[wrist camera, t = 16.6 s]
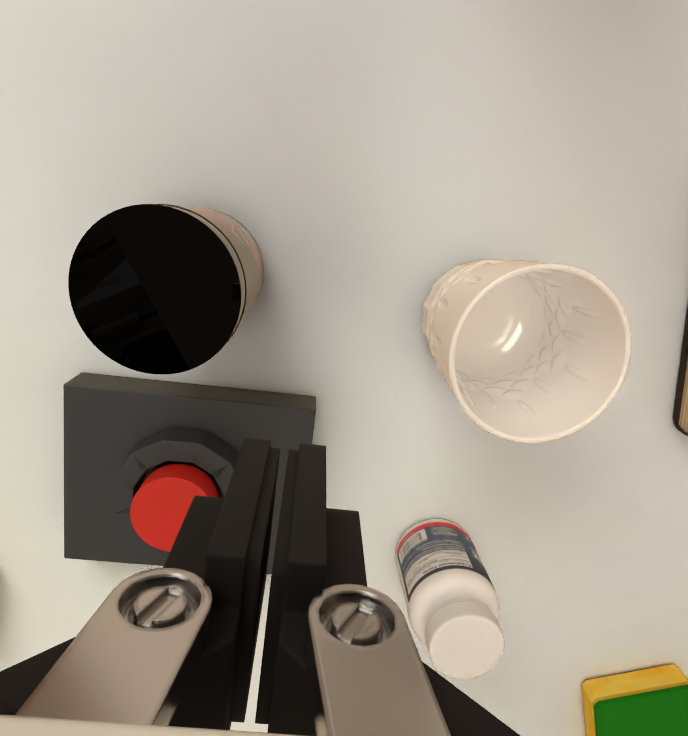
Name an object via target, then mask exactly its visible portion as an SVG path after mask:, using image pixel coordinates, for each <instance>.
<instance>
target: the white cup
mask: <svg viewBox="0 0 688 736" xmlns="http://www.w3.org/2000/svg"><path fill="white" fill-rule="evenodd" d="M422 331H423V333H424V336H425V338H426V340H427V342H428V345H429V347H430V351H431V354H432V356H433V358H434V360H435V362H436V364H437V366H438V368H439V370H440V371H441V373H442V375H443V377H444V378H445V380H446V381H447V383H448V385H449V386H450V388H451V390H452V391H453V393H454V395H455V396H456V398H457V400H458V402H459V403H460V405H461V407H462V408H463V410H464V411H465V412H466V414H467V415H468V416H469V417H470V418H471V419H472V420H473V421H474V422H475V423H476V424H477V425H479V426H480V427H481V428H483V429H484V430H486V431H487V432H489V433H491V434H493V435H495V436H497V437H500V438H503V439H506V440H510V441H514V442H521V443H541V442H548V441H552V440H556V439H560V438H563V437H565V436H568V435H570V434H573V433H575V432H577V431H578V430H580V429H582V428H583V427H585V426H587V425H588V424H589V423H591V422H592V421H593V420H595V419H596V418H597V417H598V416H599V415H600V414H601V413H602V412H603V411H604V410H605V409H606V408H607V407H608V406H609V404H610V403H611V402H612V400H613V399H614V397H615V396H616V394H617V393H618V391H619V389H620V387H621V385H622V383H623V381H624V379H625V376H626V373H627V370H628V367H629V362H630V356H631V332H630V327H629V322H628V319H627V316H626V313H625V311H624V309H623V307H622V305H621V303H620V301H619V300H618V298H617V297H616V296H615V294H614V293H613V292H612V291H611V290H610V289H609V288H608V287H607V286H606V285H605V284H604V283H603V282H602V281H601V280H599V279H598V278H596V277H595V276H593V275H591V274H590V273H588V272H586V271H583V270H581V269H578V268H575V267H571V266H567V265H561V264H550V263H540V262H531V261H521V260H483V259H482V260H477V261H473V262H469V263H464V264H460V265H456V266H455V267H454V268H452V269H451V270H450V271H448V272H447V273H446V274H444V275H443V276H442V277H441V278H439V279H438V280H437V281H436V282H435V283H434V285H433V287H432V289H431V291H430V293H429V295H428V297H427V299H426V300H425V302H424V304H423V321H422Z"/></svg>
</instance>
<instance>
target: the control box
mask: <svg viewBox="0 0 688 736" xmlns="http://www.w3.org/2000/svg"><path fill="white" fill-rule="evenodd" d="M315 412H316V397H313V396H304V395H294V394H284V393H275V392H265V391H255V390H245V389H236V388H226V387H216V386H207V385H197V384H187V383H178V382H168V381H158V380H148V379H139V378H129V377H119V376H110V375H100V374H90V373H80V374H79V375H77V376H76V377H74V378H73V379H71V380H70V381H68V382H67V383H65V384H64V557H65V558H71V559H83V560H96V561H109V562H121V563H134V564H147V565H160V566H164V565H165V562H166V560H167V558H168V555H169V553H170V552H169V551H163V550H160V549H157V548H155V547H153V546H151V545H149V544H148V543H146V542H145V541H144V540H142V539H141V537H140V536H139V535H138V534H137V532H136V531H135V529H134V527H133V525H132V522H131V517H130V508H131V503H132V500H133V498H134V496H135V494H136V493H137V491H138V490H139V488H140V487H141V485H142V484H143V482H144V481H145V479H146V478H147V477H148V475H150V474H151V473H152V472H153V471H155V470H156V469H158V468H160V467H162V466H165V465H169V464H187V465H190V466H194V467H196V468H198V469H200V470H202V471H203V472H204V473H206V474H207V475H208V476H209V477H210V478H211V479H212V480H213V482H214V483H215V485H216V487H217V489H218V493H219V498H225V495H226V492H227V489H228V486H229V483H230V480H231V477H232V474H233V471H234V468H235V465H236V462H237V459H238V456H239V453H240V450H241V447H242V443H243V440H244V438H245V437H246V438H255V439H265V440H271V447H274V448H280V459H279V468H278V477H277V486H276V495H275V504H274V514H273V523H272V532H271V541H270V550H269V559H268V568H267V574H272V568H273V560H274V552H275V545H276V538H277V530H278V523H279V516H280V509H281V502H282V494H283V487H284V480H285V473H286V466H287V459H288V451H289V449H293V450H299V446H300V443H302V444H312V438H313V429H314V421H315Z"/></svg>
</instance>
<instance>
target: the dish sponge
mask: <svg viewBox="0 0 688 736" xmlns="http://www.w3.org/2000/svg"><path fill="white" fill-rule="evenodd" d="M582 693H583V704H584V715H585V726H586V736H688V679H687V678H686V676H685V675H684V674H683V673H682V671H681V670H680V669H679V667H677V666H676V665H674V664H671V665H665V666H660V667H655V668H649V669H644V670H639V671H633V672H628V673H623V674H617V675H612V676H607V677H601V678H596V679H591V680H586V681H585V682H584V683H583V684H582Z"/></svg>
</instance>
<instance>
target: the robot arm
mask: <svg viewBox="0 0 688 736" xmlns="http://www.w3.org/2000/svg"><path fill="white" fill-rule="evenodd" d="M279 459H280V448H274V447H271V440H265V439H255V438H246V437H245V438H244V440H243V443H242V447H241V450H240V453H239V456H238V459H237V462H236V465H235V468H234V471H233V474H232V477H231V480H230V483H229V486H228V489H227V492H226V495H225V498H218V497H208V496H198V495H196V496H195V497H194V498H193V500H192V502H191V505H190V507H189V509H188V512H187V514H186V516H185V519H184V521H183V523H182V525H181V528H180V530H179V532H178V535H177V537H176V539H175V542H174V544H173V546H172V548H171V551H170V553H169V555H168V558H167V560H166V562H165V565H164V567H163V568H157V569H149V570H146V571H143V572H140V573H136V574H134V575H132V576H130V577H129V578H127V579H125V580H123V581H122V582H121V583H120V584H119V585H118V586H117V587H115V588H114V589H113V590H112V592H111V593H110V594H109V595H108V597H107V598H106V599H105V601H104V602H103V603H102V604H101V606H100V607H99V608H98V609H97V611H96V612H95V613H94V615H93V616H92V617H91V618H90V620H89V621H88V622H87V623H86V625H85V626H84V627H83V629H82V630H81V631H80V632H79V634H78V635H77V636H76V637H74V638H72V639H70V640H68V641H66V642H64V643H61V644H59V645H57V646H55V647H53V648H51V649H48V650H46V651H44V652H42V653H40V654H38V655H35V656H33V657H31V658H29V659H27V660H24V661H22V662H20V663H18V664H16V665H14V666H11V667H9V668H7V669H5V670H3V671H1V672H0V736H520V735H519V734H517V733H516V732H515V731H513V730H512V729H511V728H509V727H508V726H507V725H505V724H504V723H503V722H501V721H500V720H499V719H497V718H496V717H495V716H494V715H492V714H491V713H490V712H488V711H487V710H486V709H484V708H483V707H482V706H480V705H479V704H478V703H476V702H475V701H474V700H472V699H471V698H470V697H468V696H467V695H466V694H464V693H463V692H462V691H460V690H459V689H458V688H456V687H455V686H454V685H453V684H451V683H450V682H449V681H447V680H446V679H445V678H443V677H442V676H441V675H439V674H438V673H437V672H435V671H434V670H433V669H431V668H430V667H429V666H427V665H426V664H425V663H423V662H422V661H421V658H420V655H419V653H418V650H417V648H416V645H415V643H414V640H413V638H412V635H411V632H410V630H409V627H408V625H407V622H406V620H405V617H404V615H403V613H402V612H401V610H400V608H399V607H398V605H397V604H396V603H395V602H394V601H393V600H392V599H390V598H389V597H388V596H387V595H385V594H383V593H381V592H379V591H378V590H376V589H373V588H370V587H367V581H366V572H365V563H364V554H363V545H362V536H361V527H360V518H359V512H358V511H349V510H339V509H329V508H326V446H321V445H312V444H302V443H300V446H299V450H293V449H289V451H288V459H287V466H286V473H285V480H284V487H283V494H282V502H281V509H280V516H279V523H278V530H277V538H276V545H275V552H274V560H273V568H272V576H271V585H270V594H269V603H268V612H267V621H266V630H265V639H264V647H263V656H262V665H261V674H260V683H259V692H258V701H257V710H256V719H255V723H259V724H268V733H261V732H247V731H233V730H230V726H231V722H244V720H245V714H246V708H247V701H248V694H249V688H250V681H251V675H252V668H253V661H254V655H255V648H256V642H257V635H258V628H259V622H260V615H261V609H262V602H263V595H264V589H265V582H266V575H267V568H268V559H269V550H270V541H271V532H272V523H273V514H274V504H275V495H276V486H277V477H278V468H279Z"/></svg>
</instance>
